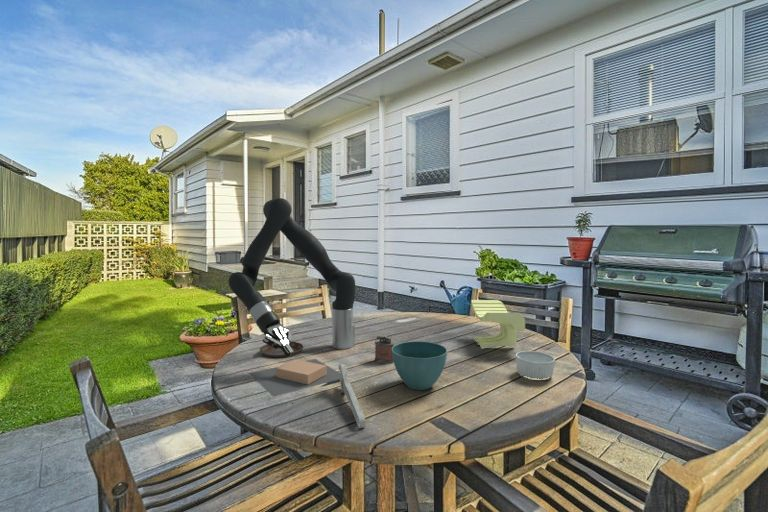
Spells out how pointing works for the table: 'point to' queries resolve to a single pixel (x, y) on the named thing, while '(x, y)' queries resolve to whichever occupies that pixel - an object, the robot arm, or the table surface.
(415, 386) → the teal bowl
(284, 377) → the tan rectangular block
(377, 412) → the table surface
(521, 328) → the slatted curved stool
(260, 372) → the mat
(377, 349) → the lighter
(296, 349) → the plant saucer
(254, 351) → the table surface
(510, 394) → the table surface
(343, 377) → the wrench
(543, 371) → the ramekin
